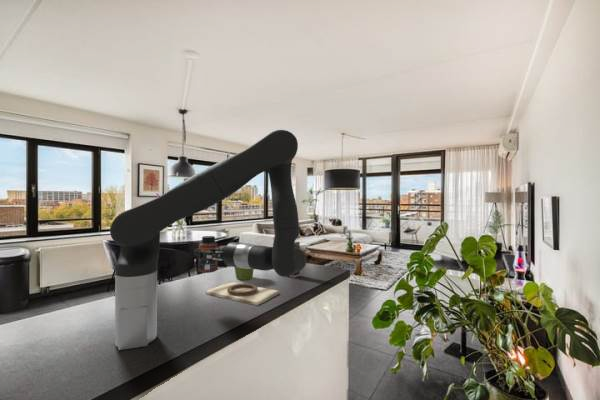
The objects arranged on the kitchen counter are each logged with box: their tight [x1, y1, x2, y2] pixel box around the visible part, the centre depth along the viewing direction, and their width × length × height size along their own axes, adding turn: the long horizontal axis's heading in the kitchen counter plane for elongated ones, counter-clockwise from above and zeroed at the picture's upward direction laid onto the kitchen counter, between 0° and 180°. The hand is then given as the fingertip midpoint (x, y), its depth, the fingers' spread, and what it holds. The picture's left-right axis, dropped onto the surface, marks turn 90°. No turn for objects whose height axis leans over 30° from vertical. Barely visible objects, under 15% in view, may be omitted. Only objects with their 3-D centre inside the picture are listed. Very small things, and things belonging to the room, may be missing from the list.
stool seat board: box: [205, 281, 280, 306], centre depth 109 cm, size 24×14×2 cm, turn 62°
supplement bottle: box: [197, 235, 219, 274], centre depth 94 cm, size 6×6×11 cm
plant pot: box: [234, 267, 255, 281], centre depth 130 cm, size 12×12×11 cm
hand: (202, 250), depth 95 cm, fingers closed on supplement bottle, 6 cm apart
